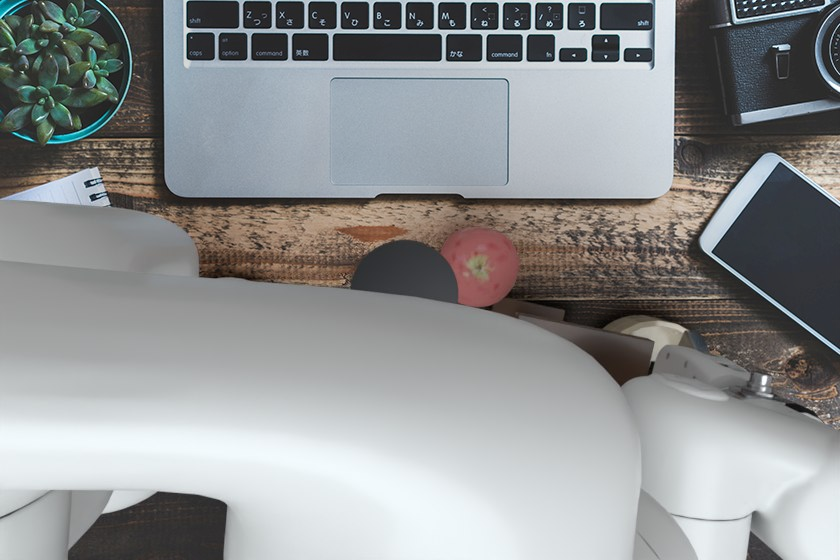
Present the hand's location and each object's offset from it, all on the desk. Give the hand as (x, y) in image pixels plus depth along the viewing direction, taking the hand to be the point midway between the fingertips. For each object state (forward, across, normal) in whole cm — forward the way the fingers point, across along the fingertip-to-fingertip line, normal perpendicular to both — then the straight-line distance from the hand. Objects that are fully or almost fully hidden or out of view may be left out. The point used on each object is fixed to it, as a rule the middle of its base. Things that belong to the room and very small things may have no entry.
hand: (649, 387), depth 64 cm
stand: (+4, -2, -12) cm, 13 cm away
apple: (+4, -8, -18) cm, 20 cm away
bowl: (+4, -1, 0) cm, 4 cm away
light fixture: (+4, -6, -24) cm, 25 cm away
